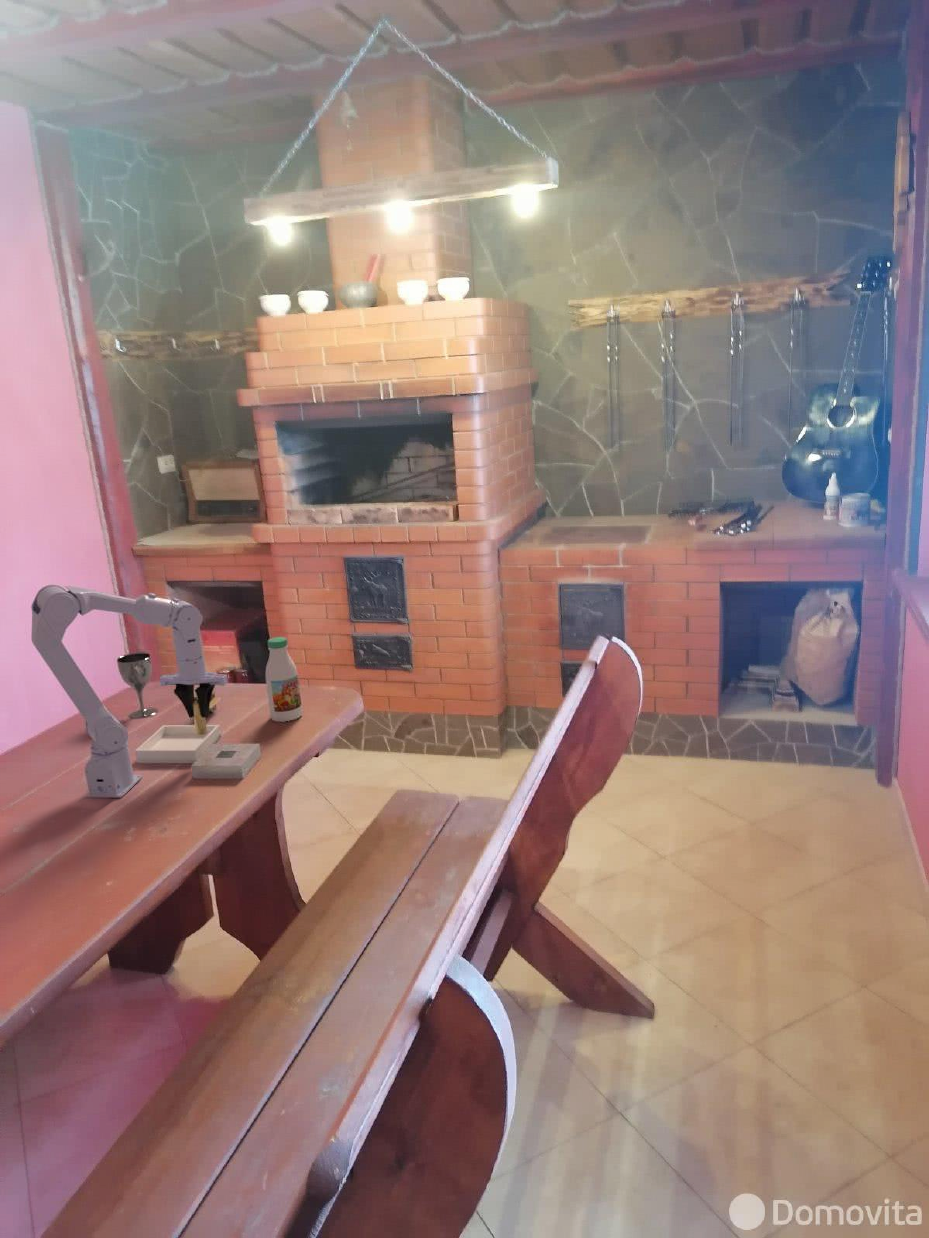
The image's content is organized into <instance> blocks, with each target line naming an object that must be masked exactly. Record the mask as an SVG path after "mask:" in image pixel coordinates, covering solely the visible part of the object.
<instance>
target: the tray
mask: <svg viewBox="0 0 929 1238" xmlns="http://www.w3.org/2000/svg"><path fill="white" fill-rule="evenodd" d="M206 726H207V733H206V734H203V735H197V734H196V730H195V724H191V725H190V724H179V725H178V724H177V725H176V724H175V725H172V724H171V725H168V724H167V725H164V724H163V725H162V726H161V727H160V728H159V729H157V730H156V731H155V732H154V733H153V734H152V735H151V736H149V738H148V739H147V738H146V740H145V741H144V742H143V743H142V744H141V745H139V746H138V747H137V748H136V749H135V750H134V754H135V759H136V763H137V764H193V763H194V762H195V761H196V760H197V759H198V758H199V757H200V756H201V755H202V754H203V753H204V752H205V751H206V750H207V749H208V748H209V747H210V745H211V744H217V742H218V741H219V740H220V739H221V738H222V733H221V726H220V724H206Z"/></svg>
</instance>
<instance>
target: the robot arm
mask: <svg viewBox="0 0 929 1238" xmlns="http://www.w3.org/2000/svg"><path fill="white" fill-rule="evenodd" d="M64 587H65V588H64ZM64 587H62V586H60V585H57V584H48V585H45V586H42V587H41V588H40V589H39V590H38V591H37V593H36V595H35V597H34V599H33V601H32V603H31V606H30V607H31V634H30V635H31V642H32V644H33V646H34V647H35V649H36V650H37V652H38V653H39V655H40V656H41V657H42V659H43V661H44V662H45V663H46V666H48V668H49V669H50V671H51V673H52V674H53V675H54V677H55V678H56V680H57V681H58V682H59V684H60V686H61V687H62V689H63V691H65V694H66V695H67V696H68V697H69V699H70V700H71V702H72V704H74V706H75V707H76V709H77V710H78V712H79V714H80V716H81V717H82V719H83V720H84V724H85V731H86V734H87V735H88V736H89V737H90V738H91V739H92V741H91V745H90V758H89V760H88V761H87V763H85V766H84V774H85V779H86V784H87V790H88V792H87V793H86V794H85V797H86V798H122V797H123V796H125V795H126V793H128V792H129V791H130V790H131V789H132V788H133V787H134V786H135V785H136V784H137V783H138V782H139V781H140V780H141V779H142V778H143V775H142V774H134V770H133V766H132V761H131V760H132V759H131V753H130V749H129V744H128V738H129V733H128V732H129V731H128V730H127V728H126V726H125V725H123V724H122V723H121V722H120V721H119V720H118V719H117V717H116V716H115V715H114V713H112V712H110V711H109V710H108V709H107V707H106V706H105V705H104V703H103V702H102V700H101V699H100V697H99V696H98V695H97V693H96V692H95V690H94V688H93V687H92V686H91V684H90V682H89V681H88V680H87V678H86V676H85V675H84V673H83V672H82V671H81V669H80V667H79V666H78V665H77V663H76V662H75V659H74V658H73V657H72V655H71V654H70V652H69V651H68V649H67V648H66V646H65V645H64V643H63V638H64V636H65V633H66V630H67V629H68V628H69V627H70V625H71V624H72V623H73V622H74V621H75V619H76V618H77V616H78V615H81V616H85V615H87V614H88V613H90V612H92V611H94V610H96V611H102V612H103V611H105V612H113V613H119V614H126V615H131V616H132V617H133V618H134V620H135V622H137V623H141V624H142V623H143V624H147V625H153V626H154V625H155V626H160V627H165V628H168V627H171V630H172V637H173V639H172V640H173V646H174V647H173V648H174V652H175V659H176V664H177V665H176V666H177V673H175V674H174V673H173V674H163V675H162V676H160V677H159V682H160V683H159V684H160V686H161V687H166V686H175V688H174V689H173V693H174V695H175V696H176V697H177V698H178V699H179V700H180V702H181V703H182V705H183V707H184V709H185V710H186V713H187V716H188V717H189V719H190V718H194V717H193V711H192V704H191V699H192V698H194V697H195V694H196V697H198V700H199V704H200V710H201V715H202V718H205V719H206V717H208V715H210V714H209V713H210V712H209V705H210V699H211V695H212V693H213V692H214V689H215V688H216V687H215V686H220V687H225V686H226V685H227V684H228V683H229V682H228V676H227V674H226V673H225V674H222V673H221V674H220V673H214V672H207V668H206V667H207V666H206V661H205V654H204V647H203V641H202V639H203V638H202V634H201V629H200V627H201V626H202V624H203V620H204V619H203V615H202V614H201V612H200V610H199V609H198V608H197V607H196V606H194V605H193V604H191V603H189V602H187V601H184V600H182V599H178V598H174V597H173V598H172V599H168V598H162V597H157V595H156V594H155V593H152V592H148V593H147V594H141V595H139V596H138V597H136V598H130V597H126V596H122V595H121V596H120V595H116V594H112V593H108V592H102V591H98V590H94V589H89V588H84V587H76V586H69V585H67V586H66V585H64ZM66 589H67V590H66ZM195 686H198V687H196V688H195Z"/></svg>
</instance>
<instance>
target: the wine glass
mask: <svg viewBox="0 0 929 1238" xmlns="http://www.w3.org/2000/svg"><path fill="white" fill-rule="evenodd" d="M116 663H117V668H118V672H119V675H120V676H121V679H122V680H123V682H124V683H125V684H127V686H129V687H130V688H131V689H132V690H134V691H135V693H136V695H137V697H138V701H139V705H140V708H139V709H135V710H133V711H131V712H129V713H128V718H130V719H135V720H136V719H144V718H149V717H151V716H154V715H155V714H157V713H158V711H159V710H158V708H156V707H144V700H143V699H144V698H143V692H144V688H145V687H146V684H148V682H149V680H150V678H151V676H152V671H153V669H152V668H153V667H152V658H151V654H150V653H149V652H146V651H145V652H143V651H142V652H132V653H127V654H123V655H121V656H119V657H117V659H116Z"/></svg>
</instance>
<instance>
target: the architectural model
mask: <svg viewBox="0 0 929 1238" xmlns="http://www.w3.org/2000/svg"><path fill="white" fill-rule="evenodd" d="M215 692H216V691H213V692H212V695H211V699H210V705H209V713H210V712H212V713H213V712H214V711H215V710H217V708H218V707H217V703H218V702H219V700H221V698H222V697H221V696H216V694H215Z"/></svg>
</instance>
